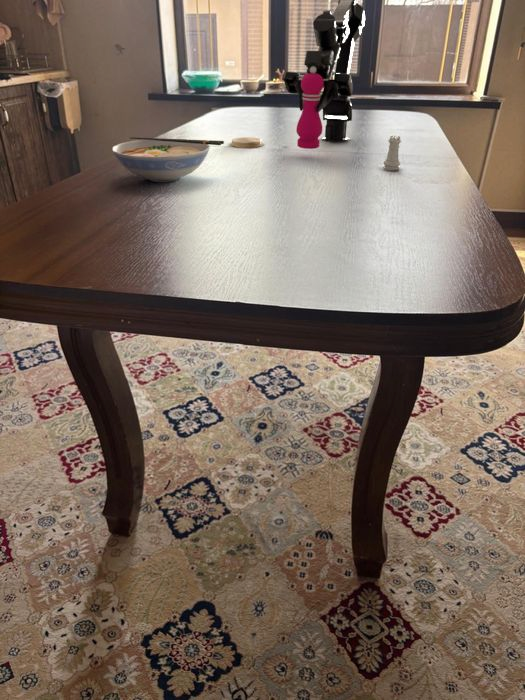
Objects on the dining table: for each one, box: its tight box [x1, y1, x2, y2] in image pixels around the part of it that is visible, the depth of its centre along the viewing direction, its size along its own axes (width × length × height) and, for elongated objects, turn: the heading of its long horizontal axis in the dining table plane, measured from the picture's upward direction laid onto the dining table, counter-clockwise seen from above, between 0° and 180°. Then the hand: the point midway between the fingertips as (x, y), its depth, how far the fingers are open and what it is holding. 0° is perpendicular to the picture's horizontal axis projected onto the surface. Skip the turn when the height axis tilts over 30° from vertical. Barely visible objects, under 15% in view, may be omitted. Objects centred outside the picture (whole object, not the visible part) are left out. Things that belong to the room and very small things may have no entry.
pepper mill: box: [296, 66, 324, 150], centre depth 142 cm, size 7×7×20 cm
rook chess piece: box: [382, 135, 402, 172], centre depth 134 cm, size 4×4×8 cm
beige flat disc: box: [230, 136, 263, 149], centre depth 164 cm, size 10×10×2 cm
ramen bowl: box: [111, 137, 225, 183], centre depth 124 cm, size 25×23×8 cm
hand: (309, 110), depth 141 cm, fingers closed on pepper mill, 5 cm apart
